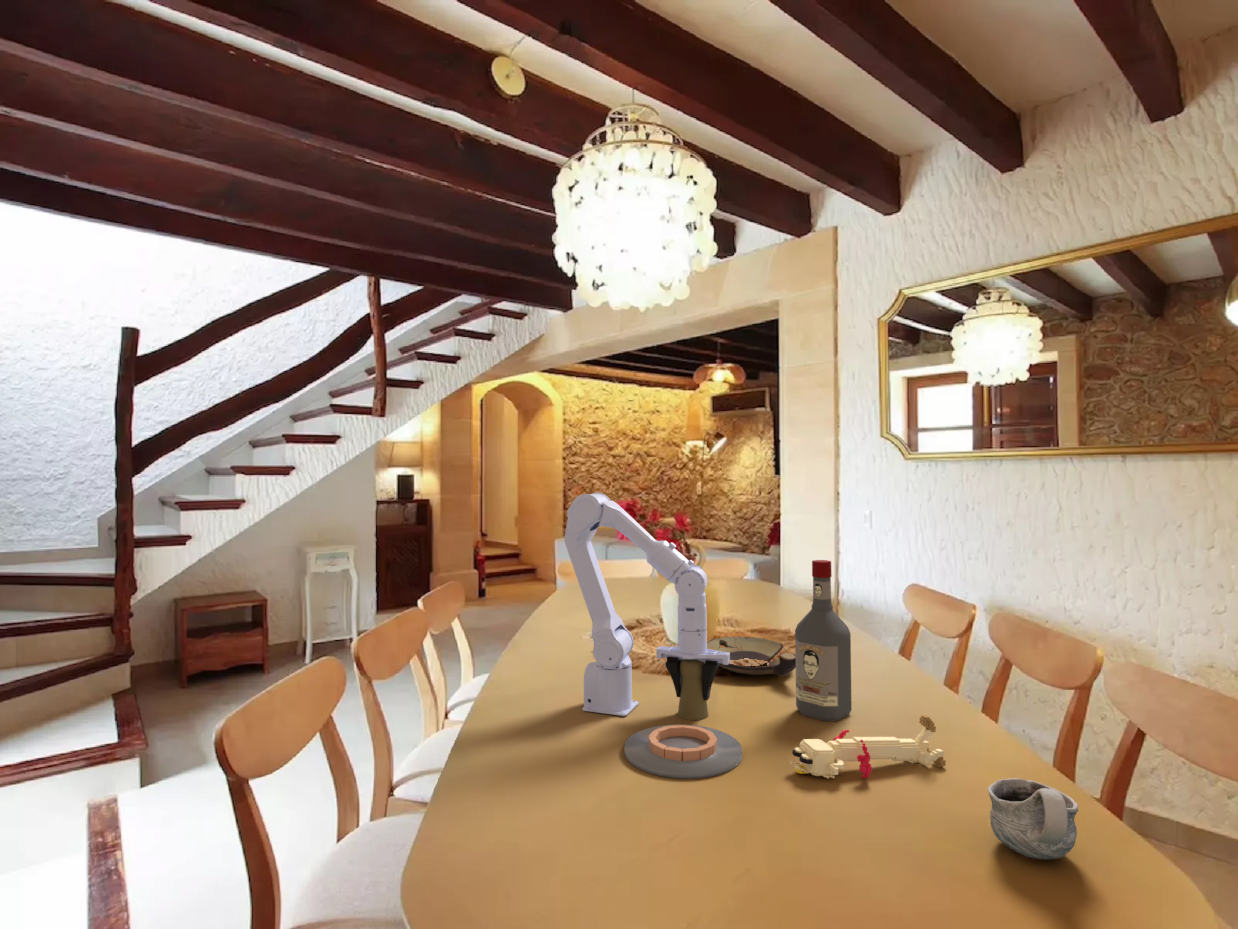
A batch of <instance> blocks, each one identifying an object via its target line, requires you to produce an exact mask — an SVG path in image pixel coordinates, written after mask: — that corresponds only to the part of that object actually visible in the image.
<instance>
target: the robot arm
mask: <svg viewBox="0 0 1238 929" xmlns="http://www.w3.org/2000/svg"><path fill="white" fill-rule="evenodd" d="M566 513H567V521H566V525H565V532H564V538H563V540H564V544H565V547H566V551H567V554H568V556H569V559H570V562H571V564H572V568H573V571H574V573H575V576H576V579H577V583H578V585H579V588H580V590H581V593H582V596H583V599H584V602H585V605H586V608H587V611H588V614H589V617H590V620H591V623H592V624H591V625H592V627H591V637H592V641H593V650H592V654H593V658H594V659H595V662H594V661H591V662H589V663H587V665H586V667H585V669H584V674H583V707H582V711H584V712H592V713H596V714H597V713H598V714H605V715H614V716H622V717H626V716H628V715H629V714H630V713H631V712H632V711H633V710H634V709H635V708H636V707H637V706H638V705H639V704H640V702H639V700H638V701H637V700H633V687H632V686H633V681H632V680H633V676H632V675H633V674H632V671H633V670H632V669H633V668H632V666H633V665H632V660H631V658H630V656H629V654H630V653H631V652H632V650H633V647H634V644H635V643H634V638H633V635H632V633H631V631H629V630H628V629H627V628H626V625H625V624H624V623H623V620H622V618H621V617H620V615H618V613H617V612H616V609H615V607H614V603H613V601H612V598H611V595H610V592H609V590H608V586H607V584H606V580H605V578H604V576H603V573H602V569H601V566H600V563H599V561H598V558H597V554H596V552H595V549H594V546H593V544H592V540H593V538H594V537H595V534H596V532H597V530H598V529H599V527H604V528H605V527H606V528H612V529H616V530H617V531H618V532H620V534H622V535H623V536H625V537H626V538H627V539H628V540H630V541H631V542H632V543H634V545H636V546H637V547H638V548H640V550H642V551H643V552H644V553H645V554H646V562H647V563H648V565H650V566H651V567H652V568H654V570H655V571H656V572H658V573H659V574H660V575H661V576H662V577H663V578H664V579H666V580H667V581H668V582H669V583H671V584H673V585H674V588H675V591H676V593H677V595H678V603H677V646H658V647H657V648H656V649H655V650H656V651H655V652H656V655H655V656H656V659H666V662H664V665H665V668H666V669H667V672H668V673H669V676H670V678H671V680H672V683H673V685H674V690H675V694H676V696H675V697H677V698H680V693H681V684H682V674H681V672H680V663H681V661H682V660H684V659H695V660H699V661H702V662H705V664H704V665H703V666H702V671H703V679H704V692H703V697H704V700H706V701H708V700H709V699H710V695H711V690H712V685H713V682H714V678H715V676H716V673H717V671H718V669H719V667H720V666H719V665H720V663H723V665H728V664H729V663H730V653H728V652H721V651H716V650H711V649H707V642H708V631H707V630H708V629H707V628H708V621H707V618H708V617H707V615H708V614H707V613H708V609H707V608H708V607H707V606H708V605H707V596H706V592H705V590H706V589H707V586H708V575H707V573H706V572H705V571H704V569H703V568H702V566H700V565H696V564H695V562H694V561H693V560H692V559H688V558H687V557H685V556H684V555H683V554H682V553H681V552H680V551H679V550H677V549H676V548H677V545H676V544H675V543H674V542H668V541H667V540H657V539H655V538H654V537H653V536H652V535H651V534H650V533H649V532H648V531H647V530H646V529H645V528H644V527H643V526H641V524H639V523H638V522H637V521H636V520H635V519H634V518H633V517H632V516H631V515H630V514H629V513H628V512H627V511H626V510H624V509H623V507H621V506H620V505H619V504H618V503H617V502H616V501H614V500H611V498H609V497H608V496H607V495H606V494H604V493H602V492H593V493H590V494H589V493H583V494H580V495H577V496H576V497H575V498H574V500H572V502H571V504H570V505H569V507H568V509H567V511H566Z"/></svg>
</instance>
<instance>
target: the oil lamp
mask: <svg viewBox="0 0 1238 929" xmlns="http://www.w3.org/2000/svg"><path fill="white" fill-rule="evenodd" d="M722 646H723V647H722ZM783 648H784V644H783V643H782V642H778V641H776V640H773V639H766V638H763V637H756V636H753V637H752V636H749V637H747V636H723V637H719V638H718V637H717V638H712V639H711V640H709V641H707V649H711V650H716V651H721V652H728V653H730V660H739V659H744V658H749V659H757V660H764V661H769V662H768V663H769V666H766V665H761V666H755V667H753V666H752V667H751V666H740V665H734V664H730V663H729V664H728V665H723V663H720V665H719V667H721V668H723V669H726V670H728V671H731V672H734V673H736V674H742V675H747V676H748V675H750V676H762V675H771V674H772V675H776V676H779V677H786V676H788V675H790V673H792V672H793V671H794V670H796V656H795V653H791V652H786V653H785V652H784V653H782V654H780V655H779V659H775V660H773V659H774V658H775V657H776V656H777V655H778V654H779V653H780V652H781V651H782V650H783ZM771 660H773V661H771Z"/></svg>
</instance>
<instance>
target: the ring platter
mask: <svg viewBox="0 0 1238 929" xmlns="http://www.w3.org/2000/svg"><path fill="white" fill-rule="evenodd" d="M624 756H625V759H626V760H627V761H628V763H629V764H630V765H632V766H633V767H635V768H636V769H638V770H640V771H643V772H645V773H648V774H651V775H655V776H658V777H663V778H670V779H681V780H682V779H683V780H688V779H689V780H690V779H691V780H692V779H693V780H694V779H695V780H696V779H704V778H711V777H717V776H719V775H723V774H725V773H728V772H730V771H732V770H733V769H735V768H736V767H737V766H739V765H740V763H741V762H742V759H743V747H742V744H740V742H739V741H738V740H737V739H736V738H734V737H733V736H732V735H730V734H728V733H726V732H723V731H722V730H718V729H714V728H711V727H706V726H702V725H697V724H695V725H693V724H665V725H663V724H662V725H657V726H651V727H648V728H645V729H641V730H639V731H637V732H635V733H633V734H632V735H630V736H629V737H628V738H627V740H626V741H625V743H624Z"/></svg>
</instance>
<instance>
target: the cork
mask: <svg viewBox="0 0 1238 929" xmlns="http://www.w3.org/2000/svg"><path fill="white" fill-rule="evenodd" d="M705 663H706V662H702V661H699V660H695V659H684V660H682V661H681V663H680V672H681V674H682V684H681V693H680V697H679V702H678V711H677V714H678V715H677V716H678V717H680V718H681V719H684V720H687V721H688V720H689V721H700V720H701V721H702V720H705V719H707V718H708V717H709V709H708V702H707V701H708V700H704V697H703V692H704V679H703V671H702V666H703V665H704V664H705Z"/></svg>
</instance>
